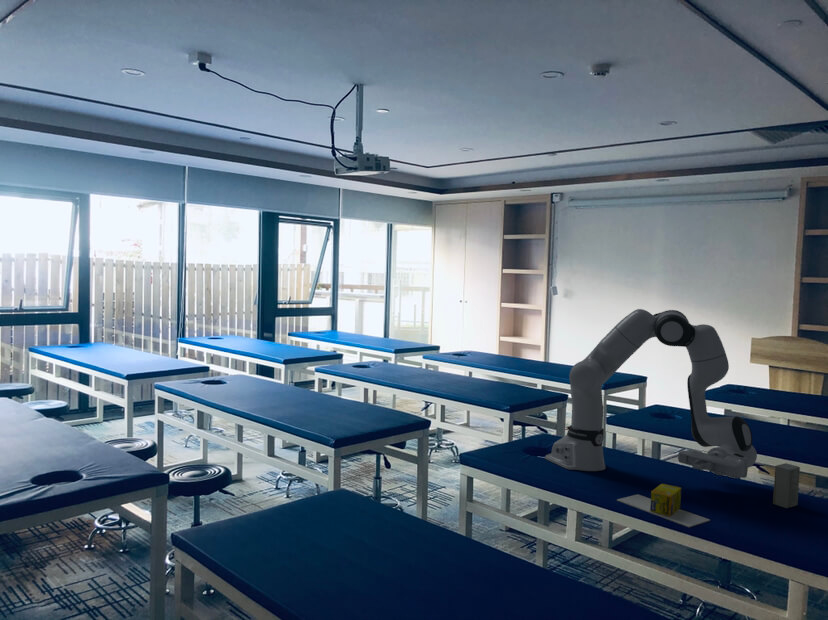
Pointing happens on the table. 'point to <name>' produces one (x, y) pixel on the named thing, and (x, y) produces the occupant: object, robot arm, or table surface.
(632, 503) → the mat
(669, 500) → the supplement box
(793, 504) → the skincare box
